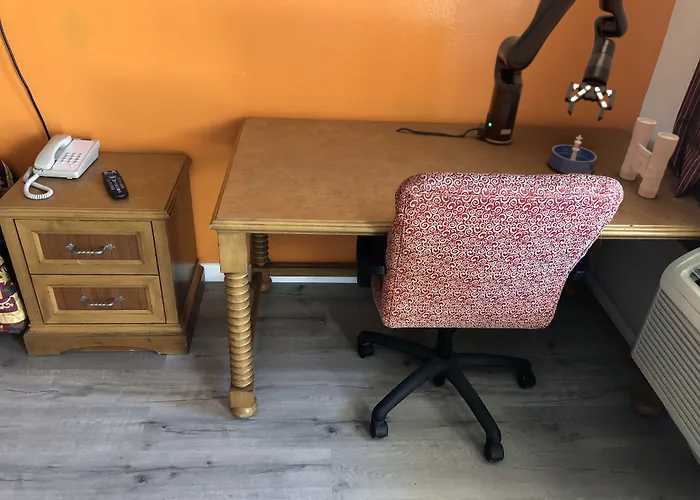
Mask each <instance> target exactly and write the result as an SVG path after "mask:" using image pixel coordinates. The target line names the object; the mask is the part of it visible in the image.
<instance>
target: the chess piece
mask: <svg viewBox="0 0 700 500" xmlns="http://www.w3.org/2000/svg"><path fill="white" fill-rule="evenodd" d="M581 140H583V137H581V134H579V135H578V136H576V137H575V140H574V146H575V147H573V148H572V149H573V150H574V151H573V154H572V156H571V158H570V160H576V154H577V151H579V148H578V147H581V145H582V141H581Z"/></svg>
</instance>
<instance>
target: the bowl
mask: <svg viewBox="0 0 700 500" xmlns="http://www.w3.org/2000/svg"><path fill="white" fill-rule="evenodd" d="M573 147H575V144H557V145H554V146H553V147H551V149H550V154H549V157H548V165H549V166H550V167H551V168H552V169H554V170H555V171H556V172H558V173H561V174H564V173H581V174H589V175H592V174H593V173H594V170H595V167H596V163H597V162H598V161H597V160H598V155H597V154H596V153H595V152H594V151H592V150H590V149H588V148H585V147H582V146H579V147H578V148H579V151H577V154H576V160H570V158H571V156H572V154H573V151H574V150H573V149H572V148H573Z"/></svg>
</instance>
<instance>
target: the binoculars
mask: <svg viewBox="0 0 700 500" xmlns="http://www.w3.org/2000/svg"><path fill="white" fill-rule="evenodd" d="M657 124H658V123H657V121H656V120H654V119H652V118H649V117H642V116H641V117H637V118H636V121H635V124H634V126H633V129H632V135H631V140H630V143H629V146H628V148H627V152H626V155H625V157H624V161H623V163H622V165H621V167H620V169H619V170H620V172H619V174H618V176H619V177H620V178H621V179H623V180H627V181H634V180H636V177H637V176H638V174H639V175H640V177H641V178H642V180H641V183H640V184H639V188H638V192H637V194H638V195H639V196H641V197H643V198H646V199H654V198H656V196H657V193H658V192H659V189H660V188H659V187H660V184H661V181H662V179H663V178H664V174H665V171H666V169H667V166H668V164H669V161H670V159H671V157H672V155H673V154H674V152H675V150H676V148H677V145H678V143H679V139H680V137H679V136H678V135H676V134H675V133H674V134H673V133H670V132H665V131H662V132H661V131H660V132H658V133H657V136H656V138H655V141H654V144H653V148H652V151H650V150H649V149H647V146H648V144H649V142H650V140H651V138H652V137H653V135H654V132H655V129H656V125H657Z"/></svg>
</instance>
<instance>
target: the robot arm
mask: <svg viewBox="0 0 700 500" xmlns="http://www.w3.org/2000/svg"><path fill="white" fill-rule="evenodd" d="M576 1H577V0H539V1H538V4H537V7H536V10H535V13H534V15H533V18H532V20H531V21H530V23H529V24H528V26H527V28H526V29H525V30H524V31H523V32H522V34H521V35H520V36H519V35H509V36H507V37H505V38H504V39H503V40H502V41H501V42H500V44H499V46H498V49H497V52H496V58H495V63H494V70H493V87H492V91H491V96H490V101H489V106H488V110H487V113H486V114H487V115H486V118H485V122H479V124H478V127H473V128H468V129H467V130H465V132H463V133H462V134H459V135H458V134H457V135H455V134H449V133H444V132H436V131H435V132H434V131H422V130H421V131H420V130H414V129H410V128H408V127H399V128H397V129H396V130H395V132H397V133H399V132H400V131H408V132H410V133H414V134H422V135H434V136H435V135H436V136H444V137H449V138H463V137H465V136H466V135H467V134H468V133H470V132H473V131H477V133H476V135H477V136H481V140H482V141H485V142H487V143H490V144H494V145H501V146H502V145H503V146H504V145H509V144H511V142H512V137H513V134H514V128H515V124H516V121H517V115H518V110H519V107H520V102H521V97H522V94H523V89H524V80H523V71H524V70H526V69H527V68H528V67H530V65H532V63H533V62H534V60H535V59H536V57H537V56H538V54H539V53H540V51H541V49H542V48H543V46H544V44H545V43H546V41H547V40H548V38H549V36H550V35H551V34H552V32H553V31H554V30H555V29H556V28H557V27H558V25H559V23H560V22H561V20H563V18H564V17H565V15H566V14H567V13H568V11H570V9H571V8H572V6H574V4H575V3H576ZM597 1H598V2H597V4H598V9H599V10H600V11H602V12H605V13H608V14H599V15H598V16H597V17H595V19H594V20H593V22H592V36H593V37H592V41H593V42H592V47H591V50H590V54H589V57H588V59H587V61H586V64H585V68H584V72H583V75H582V78H581V82H580V83H579V84H576V83H575V82H574V81H570V83H569V86H568V89H567V91H566V94H565V97H564V102H565V103H568V107H567V114H568V116H572V113H573V111H574V107H575V104H576V103H579V102H580V101H581V100H583V101H586V102H588V101H589V102H591V103H595V102H596V104H597V106H598V107H599V109H600V110H599V112H598V116H597V120H596V121H597V122H600V121H601V120H604V116H605V112H606V111H612V110H613V107H614V103H615V99H616V93H617V90H616V88H613V89H612V90H611V89H610V90H609V89H607V86H608V83H609V79H610V75H611V71H612V68H613V61H614V58H615V54H616V51H617V43H616V41H614V40H613V39H620V38H623V37H624V36H626V35H627V33H628V32H629V28H630V21H629V16H628V14H627V11H626V9H625V3H624V0H597ZM576 90H577V91H578V92H577V93H576V95H574V96H572V97H571V95H572V92H575V91H576ZM604 96H607V98H608V99H609V100H608V103H607V102H606V101H605V98H604Z"/></svg>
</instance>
